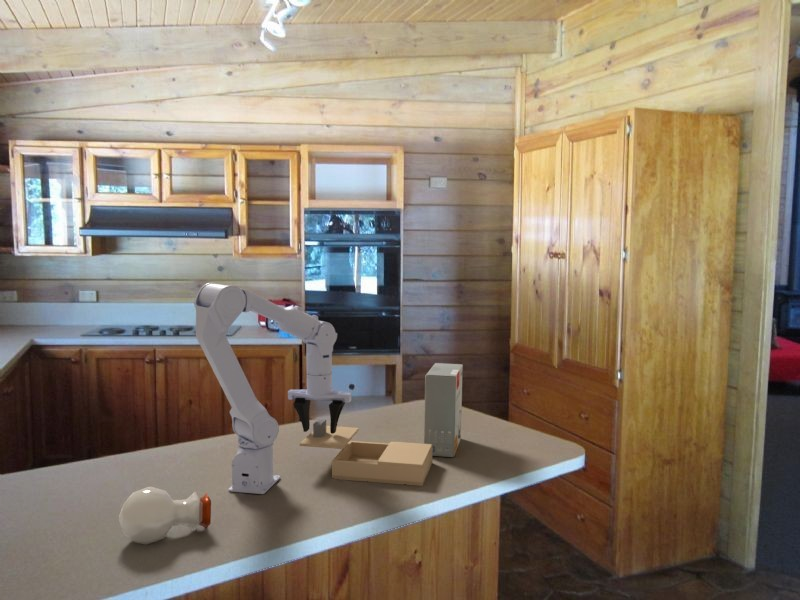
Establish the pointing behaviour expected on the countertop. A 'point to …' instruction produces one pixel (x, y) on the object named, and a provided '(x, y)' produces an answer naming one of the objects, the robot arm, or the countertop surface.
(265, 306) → the robot arm
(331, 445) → the lid flap
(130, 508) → the potion bottle
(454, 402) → the hard drive box
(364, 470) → the carton
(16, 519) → the countertop surface
